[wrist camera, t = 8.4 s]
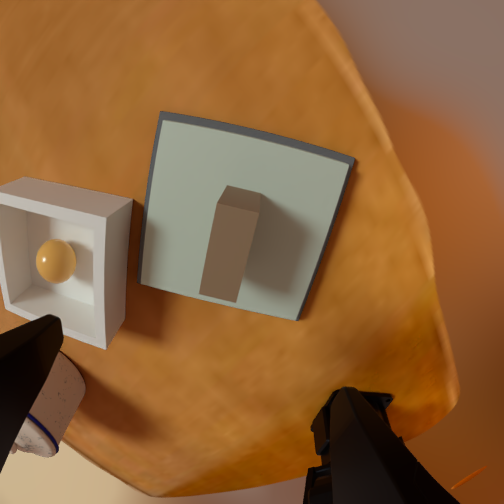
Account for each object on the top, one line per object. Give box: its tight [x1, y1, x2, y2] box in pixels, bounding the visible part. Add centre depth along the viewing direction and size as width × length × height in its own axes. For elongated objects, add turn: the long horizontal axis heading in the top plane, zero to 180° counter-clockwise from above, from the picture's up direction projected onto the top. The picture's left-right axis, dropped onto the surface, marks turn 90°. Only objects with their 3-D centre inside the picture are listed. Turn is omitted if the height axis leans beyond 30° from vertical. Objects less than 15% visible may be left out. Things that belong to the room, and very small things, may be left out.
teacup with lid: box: [9, 352, 86, 457], centre depth 23 cm, size 12×9×12 cm
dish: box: [0, 177, 133, 350], centre depth 20 cm, size 10×10×4 cm
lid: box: [141, 120, 349, 321], centre depth 18 cm, size 11×11×5 cm
